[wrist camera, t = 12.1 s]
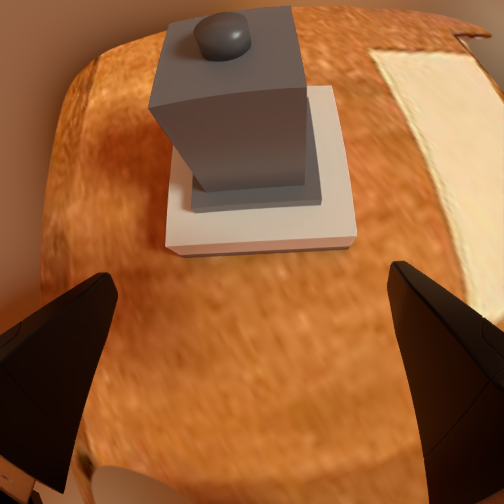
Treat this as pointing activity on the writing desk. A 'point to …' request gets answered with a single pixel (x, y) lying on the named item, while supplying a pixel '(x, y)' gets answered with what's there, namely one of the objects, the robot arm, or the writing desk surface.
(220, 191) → the grey block with knob
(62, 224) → the writing desk surface
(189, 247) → the socket
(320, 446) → the writing desk surface
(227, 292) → the writing desk surface
